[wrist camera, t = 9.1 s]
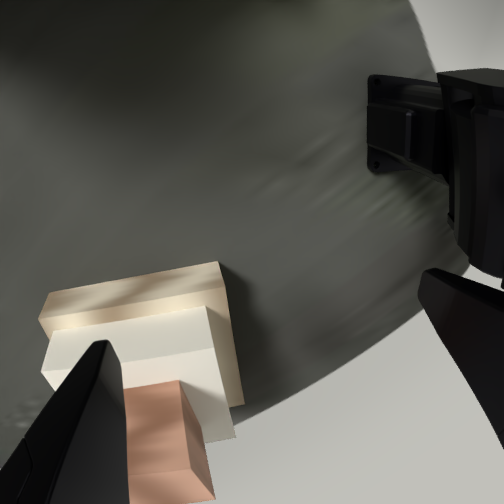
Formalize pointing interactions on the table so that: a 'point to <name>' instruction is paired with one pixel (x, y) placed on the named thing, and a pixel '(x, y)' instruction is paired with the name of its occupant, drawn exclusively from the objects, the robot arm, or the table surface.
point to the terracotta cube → (165, 447)
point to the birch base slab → (153, 309)
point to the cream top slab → (155, 360)
